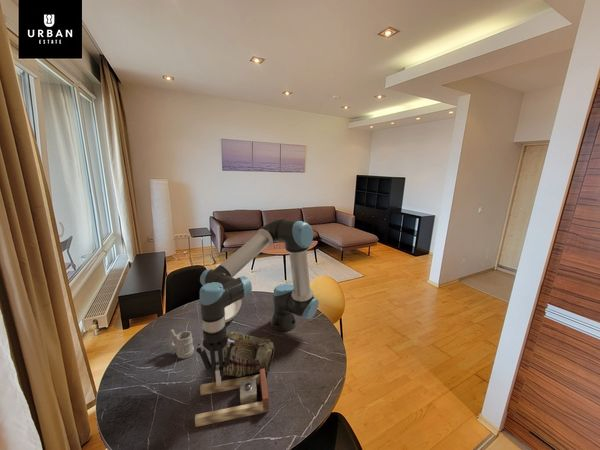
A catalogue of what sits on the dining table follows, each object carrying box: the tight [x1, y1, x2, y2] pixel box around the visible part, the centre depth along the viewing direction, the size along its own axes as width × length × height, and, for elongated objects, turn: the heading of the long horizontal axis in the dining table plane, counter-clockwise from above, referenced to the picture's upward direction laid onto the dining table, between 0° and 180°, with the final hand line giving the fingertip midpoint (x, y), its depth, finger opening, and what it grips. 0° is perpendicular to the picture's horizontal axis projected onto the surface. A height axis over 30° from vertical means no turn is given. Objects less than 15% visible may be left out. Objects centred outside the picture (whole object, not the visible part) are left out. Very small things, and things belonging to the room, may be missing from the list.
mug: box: [168, 328, 195, 360], centre depth 116 cm, size 8×12×12 cm, turn 83°
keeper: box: [239, 379, 258, 406], centre depth 94 cm, size 6×7×6 cm
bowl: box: [225, 299, 242, 323], centre depth 149 cm, size 30×15×6 cm, turn 3°
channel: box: [194, 368, 270, 428], centre depth 93 cm, size 25×14×6 cm, turn 104°
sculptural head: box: [222, 331, 275, 378], centre depth 108 cm, size 17×21×25 cm
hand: (218, 382), depth 91 cm, fingers closed
